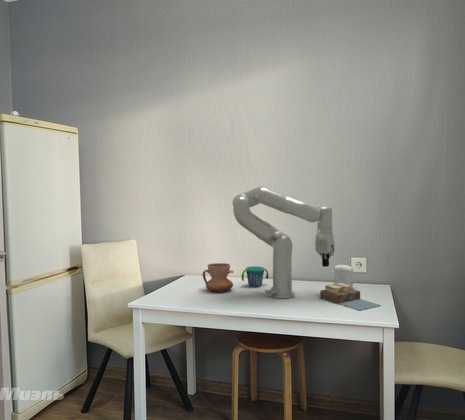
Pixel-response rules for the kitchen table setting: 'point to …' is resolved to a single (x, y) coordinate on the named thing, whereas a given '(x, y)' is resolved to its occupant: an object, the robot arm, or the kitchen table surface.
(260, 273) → the snack cup
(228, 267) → the ceramic jug
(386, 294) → the kitchen table surface
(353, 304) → the slate mat
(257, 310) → the kitchen table surface
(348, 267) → the white upright block
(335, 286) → the birch tile
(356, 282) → the kitchen table surface
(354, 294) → the block
